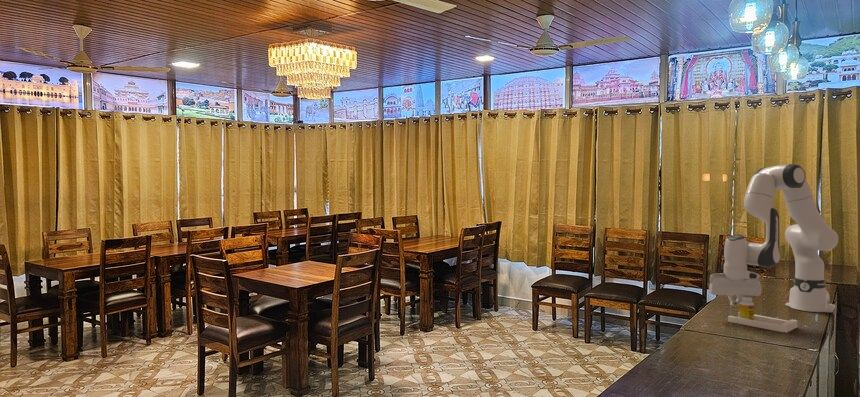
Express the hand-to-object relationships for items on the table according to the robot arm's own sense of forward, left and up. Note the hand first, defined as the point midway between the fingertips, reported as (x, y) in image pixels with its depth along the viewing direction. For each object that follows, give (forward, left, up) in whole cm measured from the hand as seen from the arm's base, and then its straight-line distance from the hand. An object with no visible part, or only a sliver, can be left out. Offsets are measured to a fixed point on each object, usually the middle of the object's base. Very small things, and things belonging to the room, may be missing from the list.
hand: (734, 305), depth 241 cm
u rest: (0, +10, -6) cm, 12 cm away
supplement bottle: (0, +5, -6) cm, 8 cm away
